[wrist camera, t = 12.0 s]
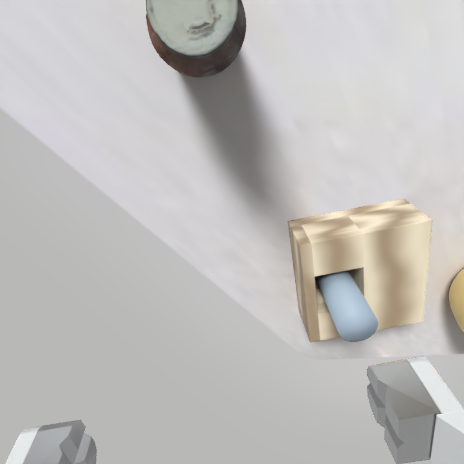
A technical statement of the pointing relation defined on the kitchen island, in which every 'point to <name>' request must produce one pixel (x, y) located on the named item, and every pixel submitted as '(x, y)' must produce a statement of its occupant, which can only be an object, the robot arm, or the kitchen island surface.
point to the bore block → (363, 262)
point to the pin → (347, 306)
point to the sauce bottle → (196, 33)
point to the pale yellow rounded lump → (458, 298)
